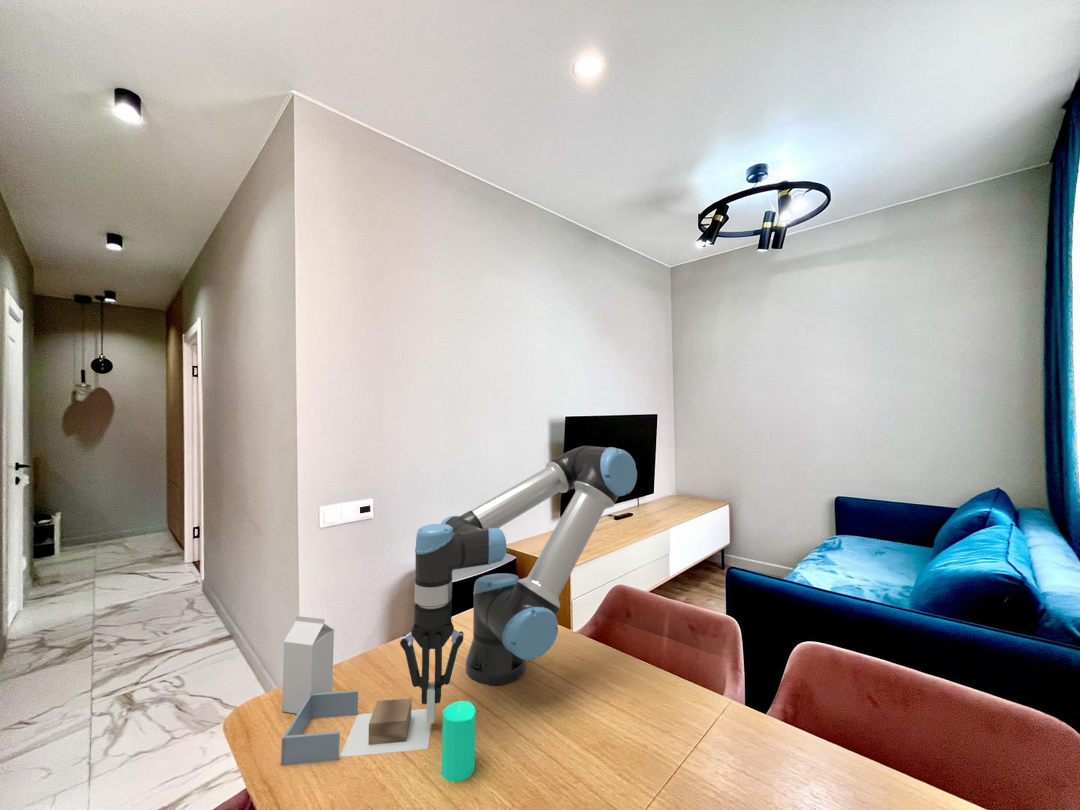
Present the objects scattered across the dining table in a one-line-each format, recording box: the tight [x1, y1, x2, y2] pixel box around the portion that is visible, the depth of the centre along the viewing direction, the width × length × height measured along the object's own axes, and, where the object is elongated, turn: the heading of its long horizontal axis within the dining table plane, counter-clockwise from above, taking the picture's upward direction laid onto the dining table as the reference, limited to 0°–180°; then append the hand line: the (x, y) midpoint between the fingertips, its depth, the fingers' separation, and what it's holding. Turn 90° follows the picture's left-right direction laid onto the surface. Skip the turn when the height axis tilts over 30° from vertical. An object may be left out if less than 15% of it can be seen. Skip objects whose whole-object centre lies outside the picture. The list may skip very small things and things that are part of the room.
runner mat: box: [339, 708, 433, 758], centre depth 88 cm, size 16×12×1 cm
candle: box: [441, 700, 476, 783], centre depth 79 cm, size 6×6×12 cm
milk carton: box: [281, 615, 335, 715], centre depth 97 cm, size 7×7×19 cm
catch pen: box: [280, 690, 359, 766], centre depth 87 cm, size 10×13×5 cm
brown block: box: [368, 697, 413, 745], centre depth 89 cm, size 7×7×4 cm
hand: (431, 718), depth 90 cm, fingers closed
